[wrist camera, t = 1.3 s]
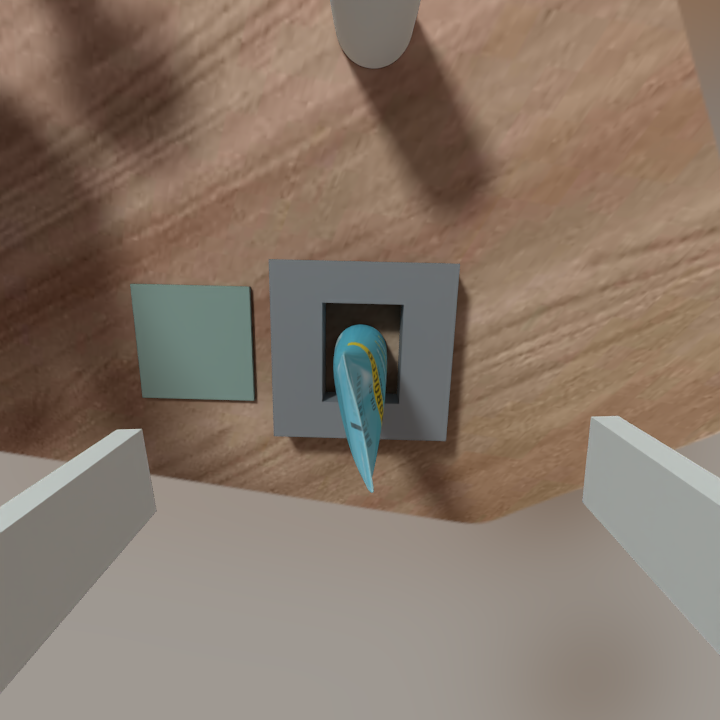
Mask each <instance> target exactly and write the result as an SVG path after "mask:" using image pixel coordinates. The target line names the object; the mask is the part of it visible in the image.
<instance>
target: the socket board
mask: <svg viewBox="0 0 720 720" xmlns="http://www.w3.org/2000/svg"><path fill="white" fill-rule="evenodd" d="M459 270H460V264H444V263H402V262H361V261H319V260H277V259H269V284H270V318H271V352H272V386H273V420H274V436H288V437H323V438H347V437H346V433H345V429H344V425H343V421H342V417H341V413H340V408H339V404H338V399H337V393H336V392H326V303H359V304H398V305H401V314H400V335H399V357H398V378H397V394H393V393H385V402H384V413H383V421H382V428H381V434H380V439H391V440H425V441H446V433H447V421H448V408H449V396H450V383H451V370H452V358H453V345H454V333H455V320H456V308H457V295H458V282H459Z"/></svg>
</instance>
